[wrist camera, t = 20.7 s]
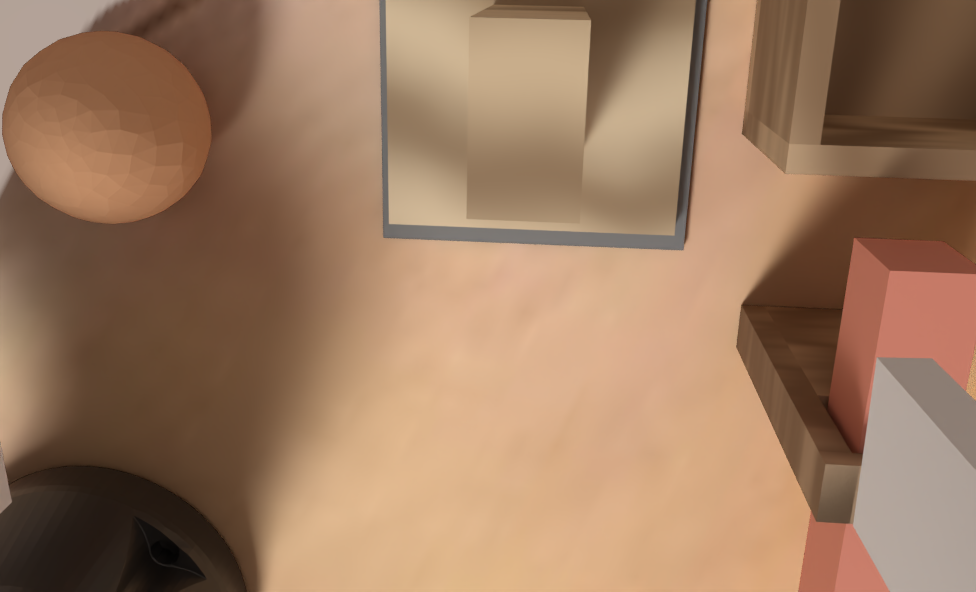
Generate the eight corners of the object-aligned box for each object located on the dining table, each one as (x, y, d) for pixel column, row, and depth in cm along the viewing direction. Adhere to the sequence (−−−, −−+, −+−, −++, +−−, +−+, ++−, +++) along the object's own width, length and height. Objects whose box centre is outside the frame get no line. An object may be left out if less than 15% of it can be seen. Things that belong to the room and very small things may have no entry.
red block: (790, 642, 35) (813, 711, 32) (854, 237, 30) (889, 270, 27) (865, 647, 35) (896, 717, 32) (943, 241, 30) (990, 274, 27)
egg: (139, 226, 42) (38, 286, 34) (37, 81, 40) (-95, 109, 32) (270, 146, 40) (198, 190, 32) (171, -9, 38) (67, -3, 30)
